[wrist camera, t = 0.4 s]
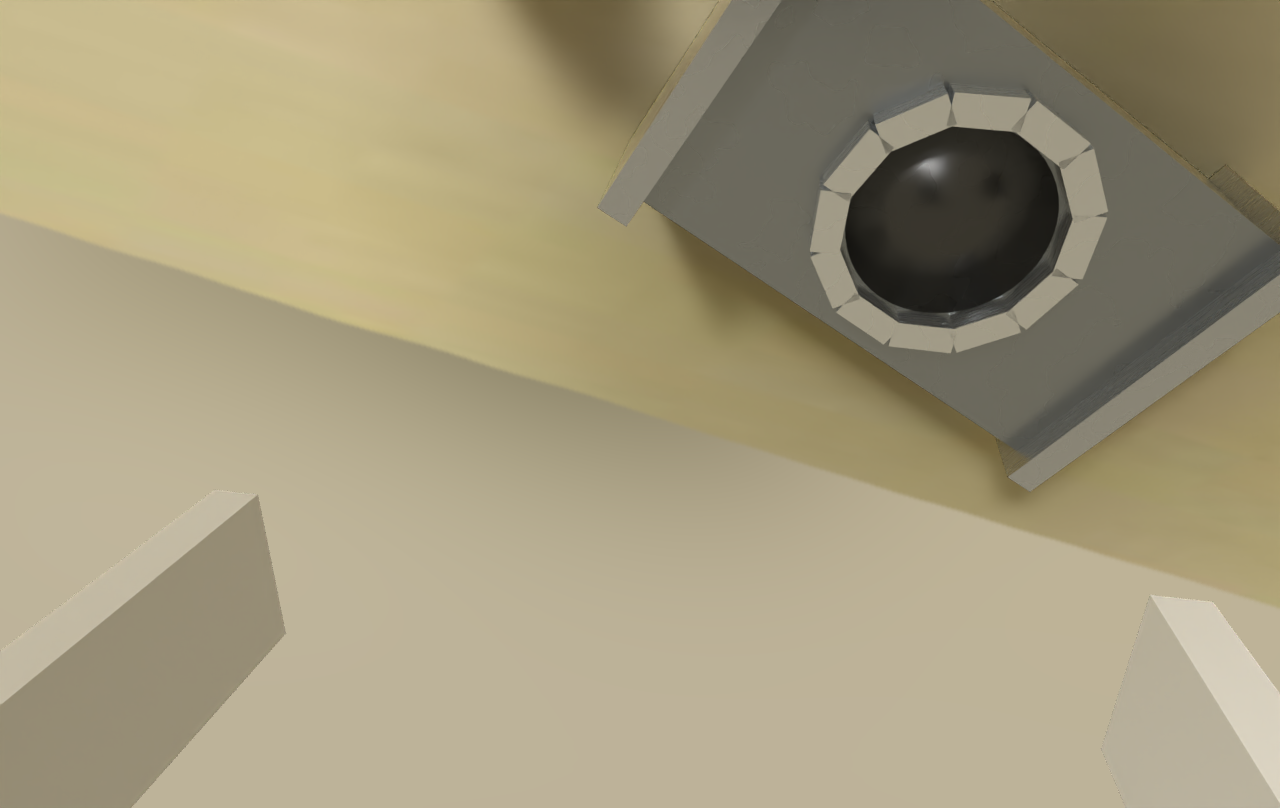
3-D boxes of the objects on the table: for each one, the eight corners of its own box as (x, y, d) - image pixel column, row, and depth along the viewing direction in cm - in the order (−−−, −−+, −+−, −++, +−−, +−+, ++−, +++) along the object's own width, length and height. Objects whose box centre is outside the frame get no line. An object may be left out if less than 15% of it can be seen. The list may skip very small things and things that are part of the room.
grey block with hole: (826, -167, 27) (834, -158, 21) (1247, 182, 31) (1344, 265, 26) (629, 140, 34) (597, 207, 28) (995, 391, 38) (1029, 491, 33)
